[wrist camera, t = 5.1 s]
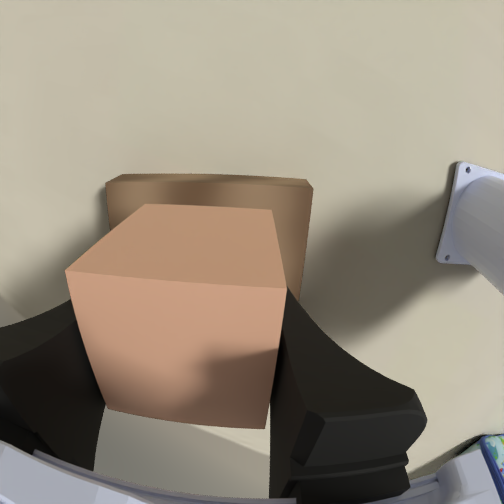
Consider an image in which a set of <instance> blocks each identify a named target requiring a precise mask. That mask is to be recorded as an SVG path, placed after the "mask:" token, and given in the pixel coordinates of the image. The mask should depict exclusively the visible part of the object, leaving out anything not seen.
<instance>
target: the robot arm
mask: <svg viewBox="0 0 504 504" xmlns="http://www.w3.org/2000/svg"><path fill="white" fill-rule="evenodd" d="M467 167H468V170H467V172H466V168H467ZM447 255H448V256H447ZM446 256H447V257H446ZM445 257H446V258H445ZM436 260H437V261H438V262H439V263H449V264H468V265H472V266H473V267H474V268H475V269H477V270H478V271H479V272H480V273H481V274H482V275H483V276H484V277H485V278H486V279H487V280H488V281H489V282H490V283H492V284H493V285H494V286H495V287H496V288H497V289H498V290H499V291H500V292H501V293H502V294H503V295H504V174H502V173H499V172H496V171H493V170H490V169H487V168H483V167H480V166H477V165H473V164H470V163H466V162H463V161H460V162H458V163H457V165H456V170H455V176H454V182H453V187H452V192H451V197H450V202H449V207H448V211H447V215H446V220H445V224H444V228H443V232H442V235H441V239H440V243H439V246H438V250H437V253H436ZM286 286H287V285H286ZM105 405H106V403H105V401H104V398H103V396H102V393H101V391H100V388H99V386H98V383H97V380H96V378H95V375H94V372H93V370H92V367H91V364H90V361H89V358H88V355H87V352H86V349H85V346H84V343H83V340H82V336H81V333H80V330H79V326H78V323H77V319H76V315H75V312H74V308H73V304H72V300H71V299H70V300H69V301H67V302H65V303H63V304H61V305H59V306H57V307H55V308H53V309H51V310H49V311H47V312H45V313H42V314H40V315H38V316H35V317H32V318H30V319H27V320H24V321H21V322H18V323H15V324H12V325H8V326H5V327H1V328H0V504H501V501H500V498H499V495H498V493H497V490H496V487H495V485H494V482H493V479H492V477H491V474H490V472H489V469H488V467H487V464H486V462H485V460H484V457H483V455H482V453H481V450H480V449H476V450H474V451H471V452H468V453H466V454H463V455H460V456H458V457H455V458H453V459H451V460H449V461H448V462H446V463H445V464H443V465H442V466H441V467H440V468H439V469H438V470H437V472H435V473H432V474H429V475H426V476H422V477H419V478H415V479H412V480H409V479H408V476H407V472H406V469H405V466H406V465H407V464H408V462H409V460H408V457H407V453H406V451H407V450H408V449H409V448H410V447H411V445H412V444H413V443H414V442H415V441H416V440H417V438H418V437H419V436H420V435H421V433H422V432H423V430H424V429H425V427H426V423H427V417H426V415H425V412H424V410H423V407H422V405H421V402H420V400H419V398H418V396H417V394H416V392H415V391H414V389H412V388H409V387H407V386H405V385H402V384H400V383H398V382H396V381H393V380H391V379H389V378H387V377H385V376H383V375H381V374H380V373H378V372H376V371H374V370H373V369H371V368H369V367H368V366H366V365H364V364H363V363H361V362H360V361H358V360H357V359H356V358H354V357H353V356H351V355H350V354H348V353H347V352H346V351H345V350H343V349H342V348H341V347H340V346H338V345H337V344H336V343H335V342H334V341H333V340H332V339H330V338H329V337H328V336H327V335H326V334H325V333H324V332H323V331H322V330H321V329H320V328H319V327H318V326H317V325H316V323H315V322H314V321H313V320H312V319H311V318H310V316H309V315H308V314H307V313H306V311H305V310H304V309H303V308H302V306H301V305H300V304H299V302H298V301H297V299H296V298H295V297H294V295H293V294H292V292H291V291H290V289H289V288H288V286H287V292H286V300H285V307H284V314H283V321H282V328H281V335H280V341H279V348H278V354H277V361H276V367H275V373H274V379H273V385H272V391H271V397H270V482H269V484H270V485H269V499H251V498H250V499H249V498H230V497H229V498H228V497H217V496H206V495H197V494H190V493H182V492H176V491H170V490H164V489H159V488H154V487H149V486H144V485H140V484H136V483H131V482H127V481H123V480H120V479H116V478H112V477H109V476H105V475H102V474H99V473H96V472H93V470H94V460H95V452H96V446H97V440H98V435H99V430H100V425H101V421H102V417H103V412H104V408H105Z"/></svg>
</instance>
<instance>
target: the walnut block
mask: <svg viewBox="0 0 504 504" xmlns="http://www.w3.org/2000/svg"><path fill="white" fill-rule="evenodd" d="M105 184H106V196H107V206H108V216H109V225H110V231H111V230H113V229H114V228H115V227H116V226H118V225H119V224H120V223H121V222H123V221H124V220H125V219H126V218H128V217H129V216H130V215H131V214H133V213H134V212H135V211H137V210H138V209H139V208H141V207H142V206H143V205H144V204H170V205H195V206H217V207H235V208H252V209H267V210H272V213H273V218H274V223H275V228H276V233H277V239H278V244H279V249H280V254H281V259H282V264H283V270H284V275H285V280H286V285H287V286H288V288H289V289H290V291H291V292H292V294H293V295H294V297H295V298H296V299H297V301H299V295H300V288H301V281H302V275H303V268H304V260H305V253H306V246H307V238H308V230H309V222H310V214H311V205H312V196H313V188H312V186H311V185H310V184H309V182H308V181H307V180H306V179H295V178H281V177H265V176H246V175H221V174H122V175H120V176H118V177H116V178H114V179H112V180H110V181H108V182H106V183H105Z"/></svg>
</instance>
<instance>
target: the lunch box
mask: <svg viewBox="0 0 504 504" xmlns="http://www.w3.org/2000/svg"><path fill="white" fill-rule="evenodd" d="M476 449H480V450H481V453H482V455H483V457H484V460H485V462H486V464H487V467H488V469H489V472H490V474H491V477H492V479H493V482H494V485H495V487H496V490H497V493H498V495H499V498H500V501H501V504H504V434H502V435H498V436H494V435H487V436H483V437H481V438H480V440H478V441H477V442H476V443H474V444H473V445H471V446H470V447H469V448H468V449H466V450H465V451H464V452H463V453H461V454H460V455H463V454H466V453H468V452H471V451H474V450H476ZM460 455H458V456H460ZM458 456H457V457H458Z"/></svg>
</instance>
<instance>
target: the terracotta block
mask: <svg viewBox="0 0 504 504" xmlns="http://www.w3.org/2000/svg"><path fill="white" fill-rule="evenodd" d="M65 274H66V278H67V283H68V287H69V292H70V296H71V300H72V304H73V308H74V312H75V315H76V319H77V323H78V326H79V330H80V333H81V336H82V340H83V343H84V346H85V349H86V352H87V355H88V358H89V361H90V364H91V367H92V370H93V372H94V375H95V378H96V380H97V383H98V386H99V388H100V391H101V393H102V396H103V398H104V401H105V403H106V405H107V408H108V409H111V410H115V411H119V412H124V413H128V414H133V415H138V416H144V417H149V418H155V419H161V420H167V421H174V422H181V423H189V424H197V425H206V426H217V427H230V428H248V429H265V425H266V420H267V414H268V408H269V403H270V397H271V391H272V385H273V379H274V373H275V367H276V361H277V354H278V348H279V341H280V335H281V328H282V321H283V314H284V307H285V300H286V292H287V286H286V280H285V275H284V270H283V264H282V259H281V254H280V249H279V244H278V239H277V233H276V228H275V223H274V218H273V213H272V210H267V209H252V208H235V207H217V206H195V205H170V204H144V205H143V206H142V207H141V208H139V209H138V210H137V211H135V212H134V213H133V214H131V215H130V216H129V217H128V218H126V219H125V220H124V221H123V222H121V223H120V224H119V225H118V226H116V227H115V228H114V229H113V230H111V231H110V232H109V233H108V234H106V235H105V236H104V237H103V238H102V239H100V240H99V241H98V242H97V243H96V244H94V245H93V246H92V247H91V248H90V249H89V250H87V251H86V252H85V253H84V254H83V255H82V256H81V257H79V258H78V259H77V260H76V261H75V262H74V263H73V264H71V265H70V266H69V267H68V268H67V269H66V270H65Z"/></svg>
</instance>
